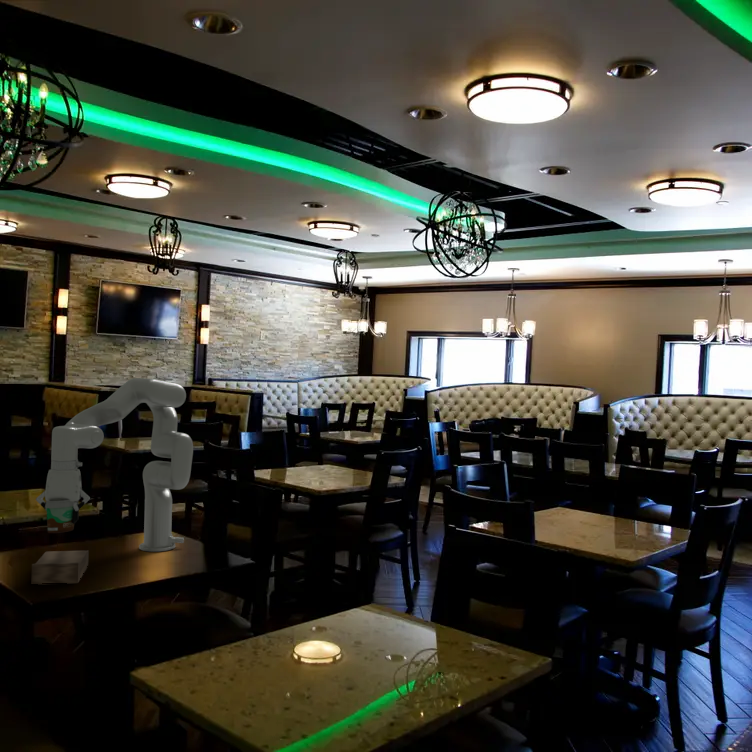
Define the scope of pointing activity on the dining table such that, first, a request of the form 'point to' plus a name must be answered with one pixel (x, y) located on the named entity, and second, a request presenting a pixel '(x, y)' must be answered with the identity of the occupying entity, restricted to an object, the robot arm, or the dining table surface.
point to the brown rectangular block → (60, 567)
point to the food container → (59, 516)
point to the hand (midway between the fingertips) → (62, 522)
